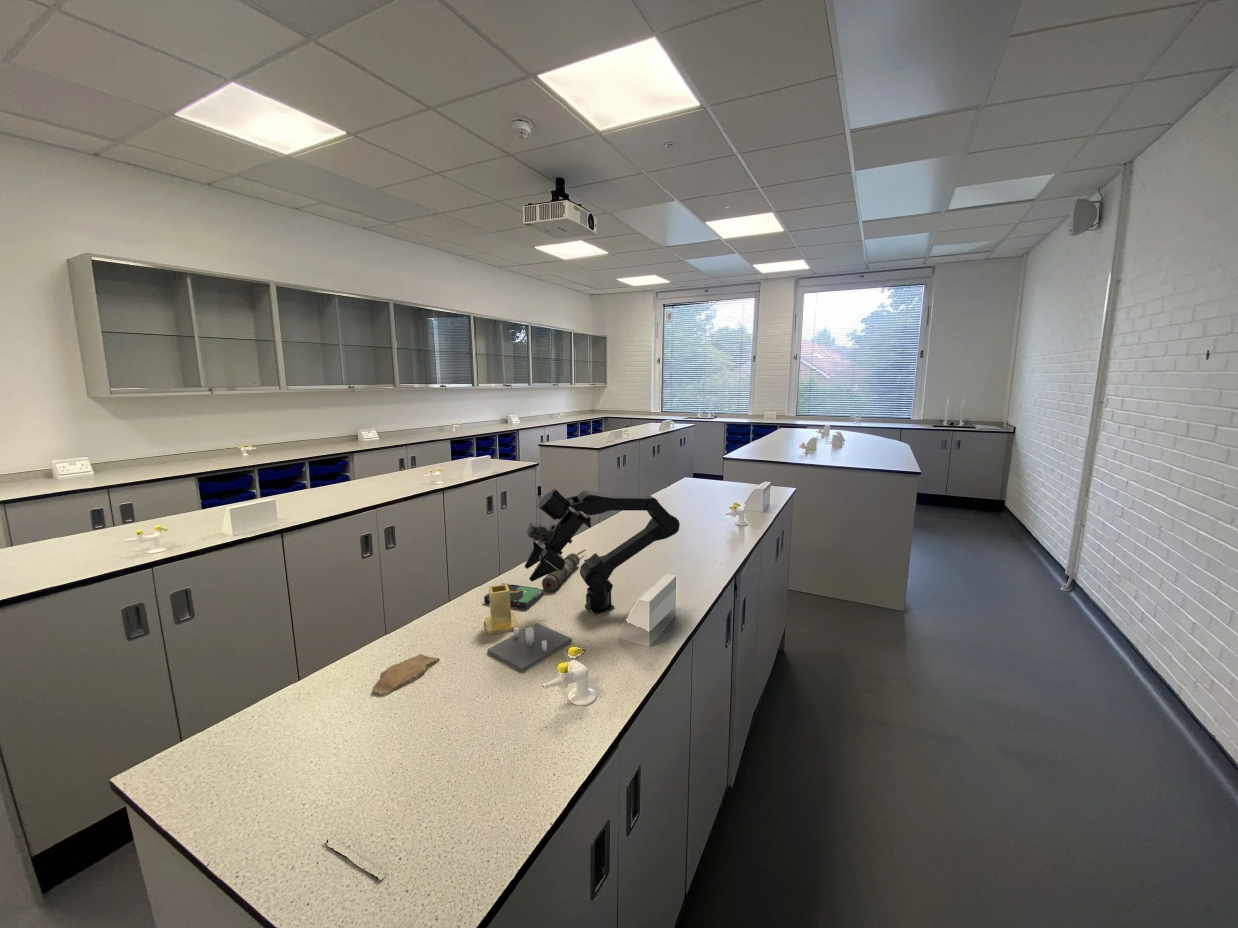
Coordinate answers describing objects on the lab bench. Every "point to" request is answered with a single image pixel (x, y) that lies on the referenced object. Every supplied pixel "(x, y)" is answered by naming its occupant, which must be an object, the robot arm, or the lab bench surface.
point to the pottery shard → (403, 674)
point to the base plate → (529, 646)
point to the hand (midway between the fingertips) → (528, 573)
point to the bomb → (561, 572)
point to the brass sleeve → (500, 611)
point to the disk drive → (521, 596)
